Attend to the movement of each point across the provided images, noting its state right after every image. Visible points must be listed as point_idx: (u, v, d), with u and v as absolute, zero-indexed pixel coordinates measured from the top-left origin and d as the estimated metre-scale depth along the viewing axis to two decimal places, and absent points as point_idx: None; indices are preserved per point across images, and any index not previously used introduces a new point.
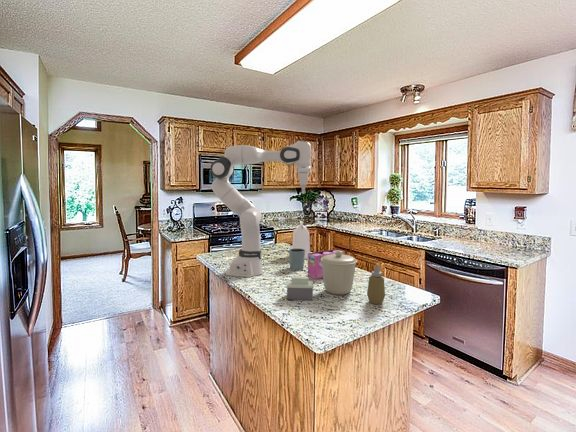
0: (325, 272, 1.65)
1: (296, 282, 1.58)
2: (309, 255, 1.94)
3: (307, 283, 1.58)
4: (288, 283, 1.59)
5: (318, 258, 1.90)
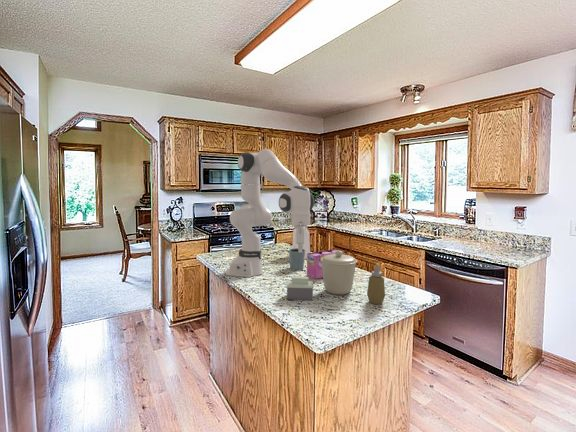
0: (325, 272, 1.65)
1: (296, 282, 1.58)
2: (308, 255, 1.94)
3: (307, 283, 1.58)
4: (288, 283, 1.59)
5: (317, 258, 1.90)
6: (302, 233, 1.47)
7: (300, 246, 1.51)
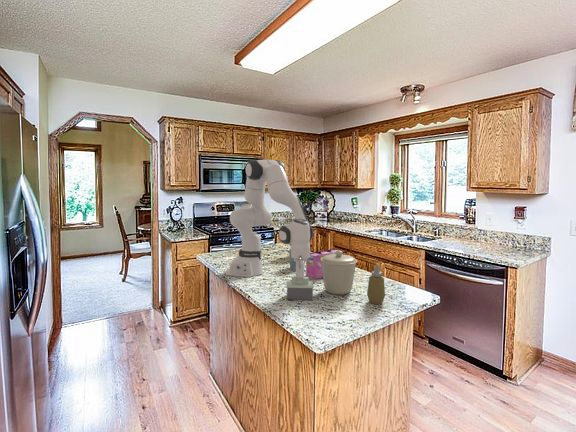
0: (325, 272, 1.65)
1: (296, 282, 1.58)
2: None
3: (307, 283, 1.58)
4: (288, 283, 1.59)
5: (316, 258, 1.90)
6: (302, 268, 1.49)
7: None
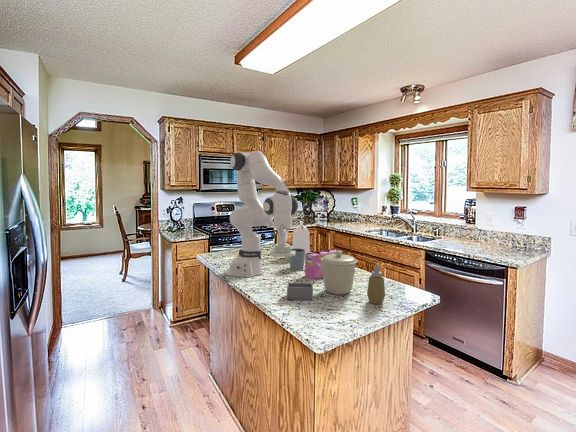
0: (325, 272, 1.65)
1: (279, 251, 1.66)
2: (306, 255, 1.94)
3: (289, 251, 1.66)
4: (271, 252, 1.67)
5: (315, 258, 1.90)
6: (283, 235, 1.57)
7: (282, 246, 1.64)
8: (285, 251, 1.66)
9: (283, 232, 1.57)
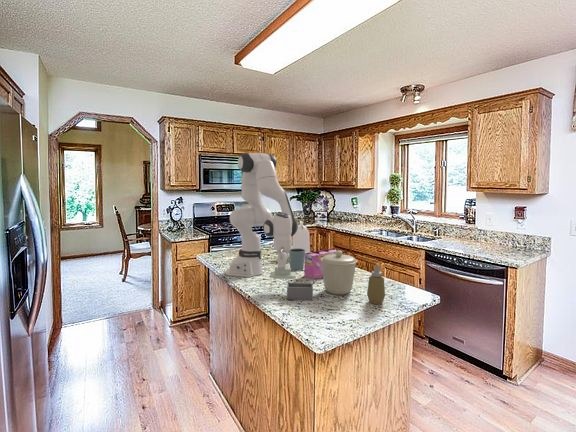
0: (325, 272, 1.65)
1: (279, 273, 1.67)
2: (306, 255, 1.94)
3: (289, 273, 1.67)
4: (271, 274, 1.68)
5: (315, 258, 1.90)
6: (283, 258, 1.58)
7: (282, 269, 1.65)
8: (285, 273, 1.67)
9: (283, 255, 1.58)
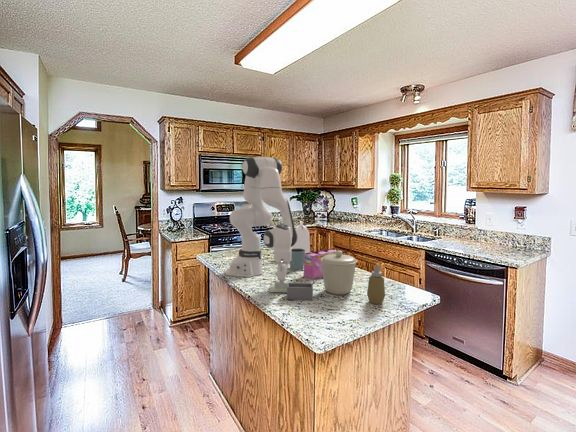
0: (325, 272, 1.65)
1: (278, 287, 1.68)
2: (305, 255, 1.94)
3: None
4: (271, 288, 1.69)
5: (314, 258, 1.90)
6: (283, 270, 1.59)
7: (281, 281, 1.63)
8: (285, 287, 1.68)
9: (283, 267, 1.59)
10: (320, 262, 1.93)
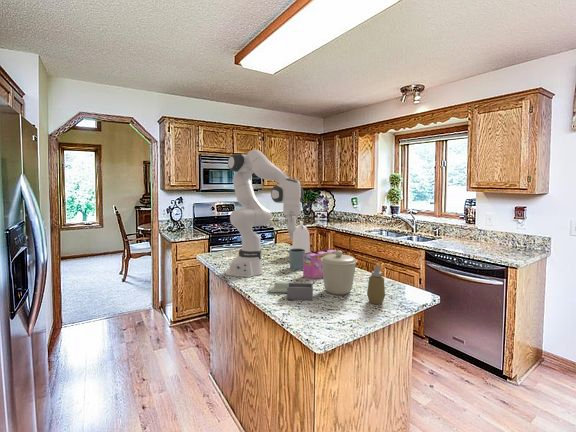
0: (325, 272, 1.65)
1: (278, 287, 1.68)
2: (305, 255, 1.94)
3: None
4: (271, 287, 1.70)
5: (314, 258, 1.90)
6: (293, 222, 1.61)
7: (291, 234, 1.65)
8: (285, 287, 1.68)
9: (293, 218, 1.61)
10: (319, 262, 1.93)
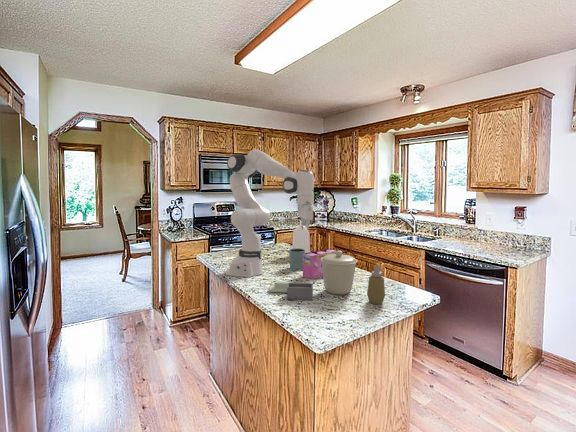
0: (325, 272, 1.65)
1: (278, 287, 1.69)
2: (304, 255, 1.94)
3: None
4: (271, 287, 1.70)
5: (313, 258, 1.90)
6: (311, 210, 1.68)
7: (308, 222, 1.72)
8: (285, 287, 1.68)
9: (311, 207, 1.69)
10: (319, 262, 1.93)
